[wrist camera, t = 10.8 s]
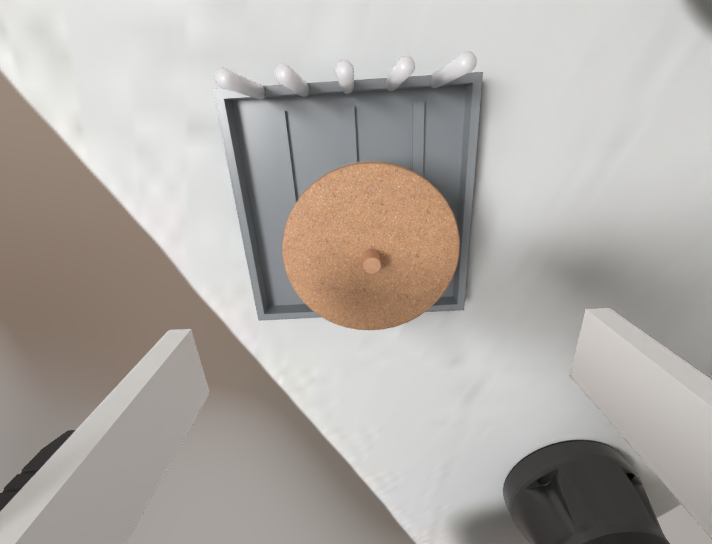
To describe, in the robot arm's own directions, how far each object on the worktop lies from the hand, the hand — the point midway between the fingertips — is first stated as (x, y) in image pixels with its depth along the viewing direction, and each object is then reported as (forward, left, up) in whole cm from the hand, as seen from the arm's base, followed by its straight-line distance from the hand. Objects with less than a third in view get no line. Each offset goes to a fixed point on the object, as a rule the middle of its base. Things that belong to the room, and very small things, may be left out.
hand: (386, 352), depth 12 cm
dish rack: (+1, +1, -19) cm, 19 cm away
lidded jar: (0, 0, -17) cm, 17 cm away
